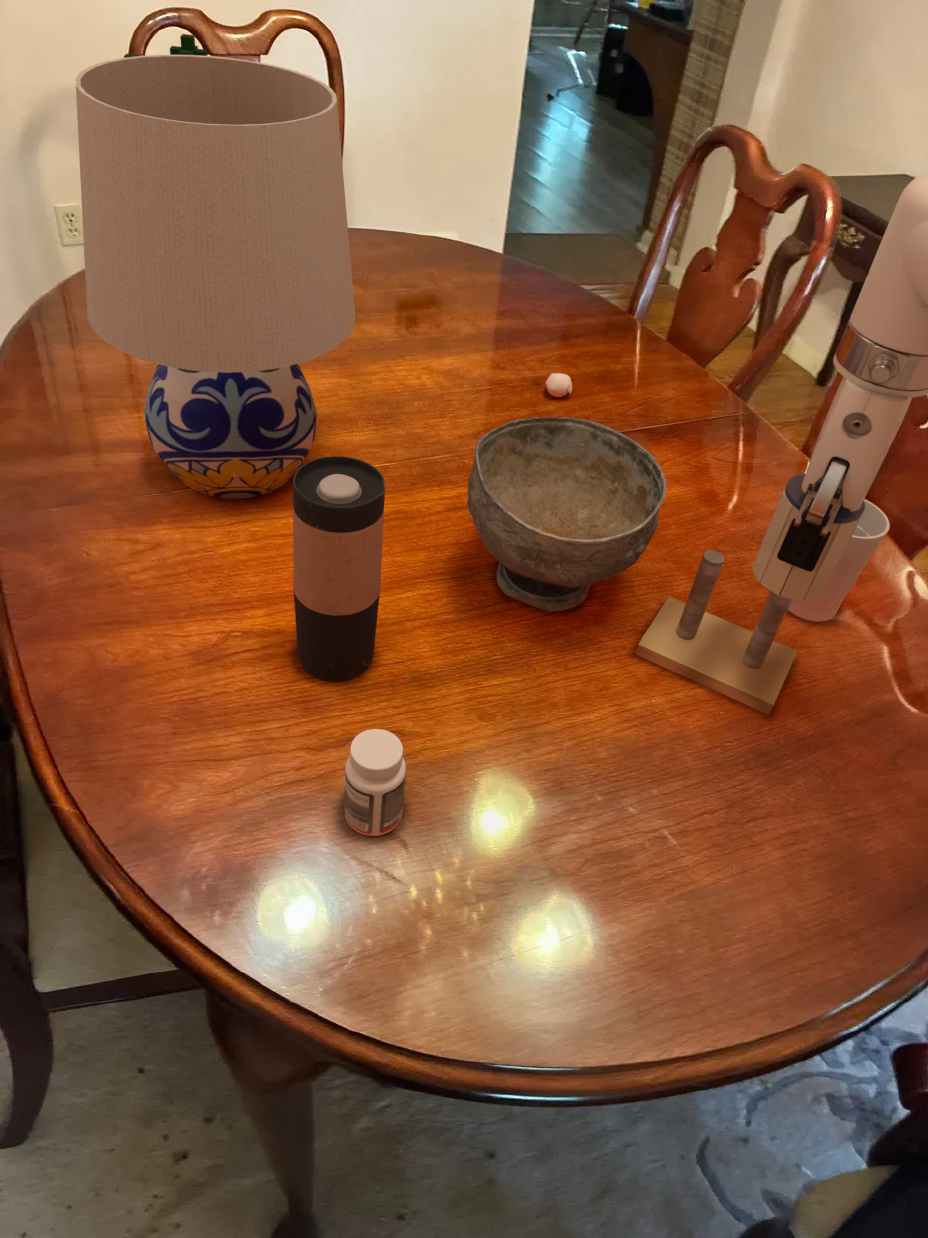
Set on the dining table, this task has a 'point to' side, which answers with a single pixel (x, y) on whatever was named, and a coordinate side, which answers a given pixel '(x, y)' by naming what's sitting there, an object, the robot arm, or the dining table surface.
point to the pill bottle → (374, 782)
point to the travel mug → (337, 564)
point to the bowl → (562, 506)
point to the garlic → (559, 384)
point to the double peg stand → (720, 643)
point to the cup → (846, 566)
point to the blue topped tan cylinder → (814, 583)
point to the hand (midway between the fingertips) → (806, 540)
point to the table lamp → (216, 253)
